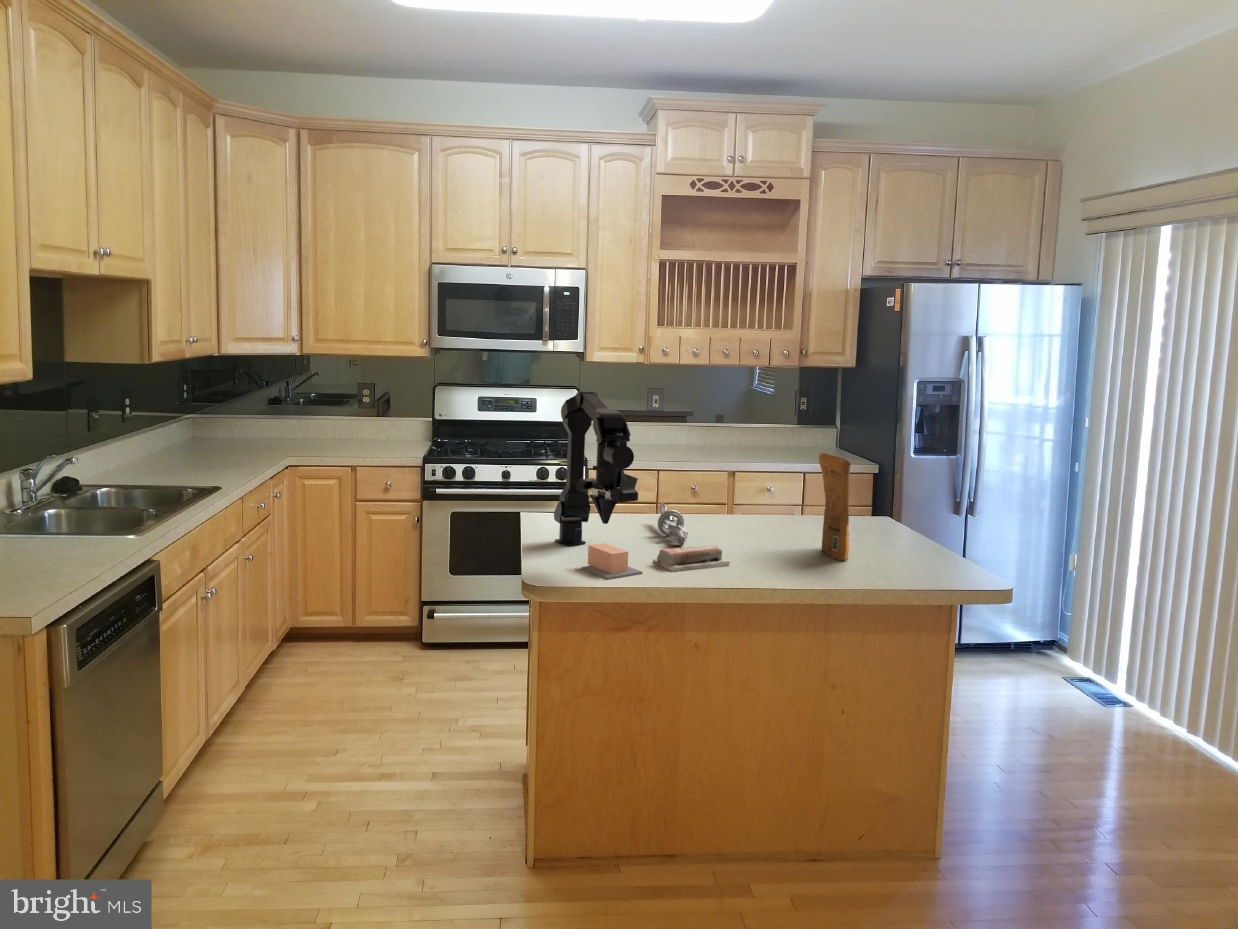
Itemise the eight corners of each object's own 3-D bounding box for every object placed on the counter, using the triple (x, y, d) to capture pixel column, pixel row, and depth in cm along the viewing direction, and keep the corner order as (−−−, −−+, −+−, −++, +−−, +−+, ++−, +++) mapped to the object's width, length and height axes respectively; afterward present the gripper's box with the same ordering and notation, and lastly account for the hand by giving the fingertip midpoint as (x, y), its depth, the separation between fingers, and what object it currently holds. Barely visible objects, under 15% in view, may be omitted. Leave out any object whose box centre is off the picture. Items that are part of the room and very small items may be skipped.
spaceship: (676, 498, 309) (654, 488, 307) (701, 535, 275) (676, 525, 273) (665, 520, 310) (643, 511, 308) (688, 560, 277) (663, 550, 275)
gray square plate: (581, 569, 251) (581, 567, 251) (615, 563, 258) (615, 561, 258) (607, 579, 243) (607, 577, 243) (642, 573, 249) (642, 571, 249)
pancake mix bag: (830, 562, 269) (839, 460, 265) (810, 545, 288) (817, 449, 283) (854, 563, 270) (863, 461, 265) (832, 546, 289) (840, 450, 284)
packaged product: (673, 555, 252) (653, 546, 260) (672, 573, 253) (652, 564, 261) (731, 549, 261) (709, 540, 269) (730, 567, 261) (708, 558, 270)
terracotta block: (588, 545, 253) (612, 554, 245) (604, 543, 256) (628, 551, 249) (587, 564, 254) (611, 573, 246) (603, 562, 257) (627, 571, 249)
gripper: (656, 466, 246) (653, 527, 249) (610, 455, 261) (608, 513, 263) (621, 469, 240) (618, 532, 242) (576, 457, 254) (573, 517, 256)
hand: (605, 523), depth 251 cm, fingers closed
